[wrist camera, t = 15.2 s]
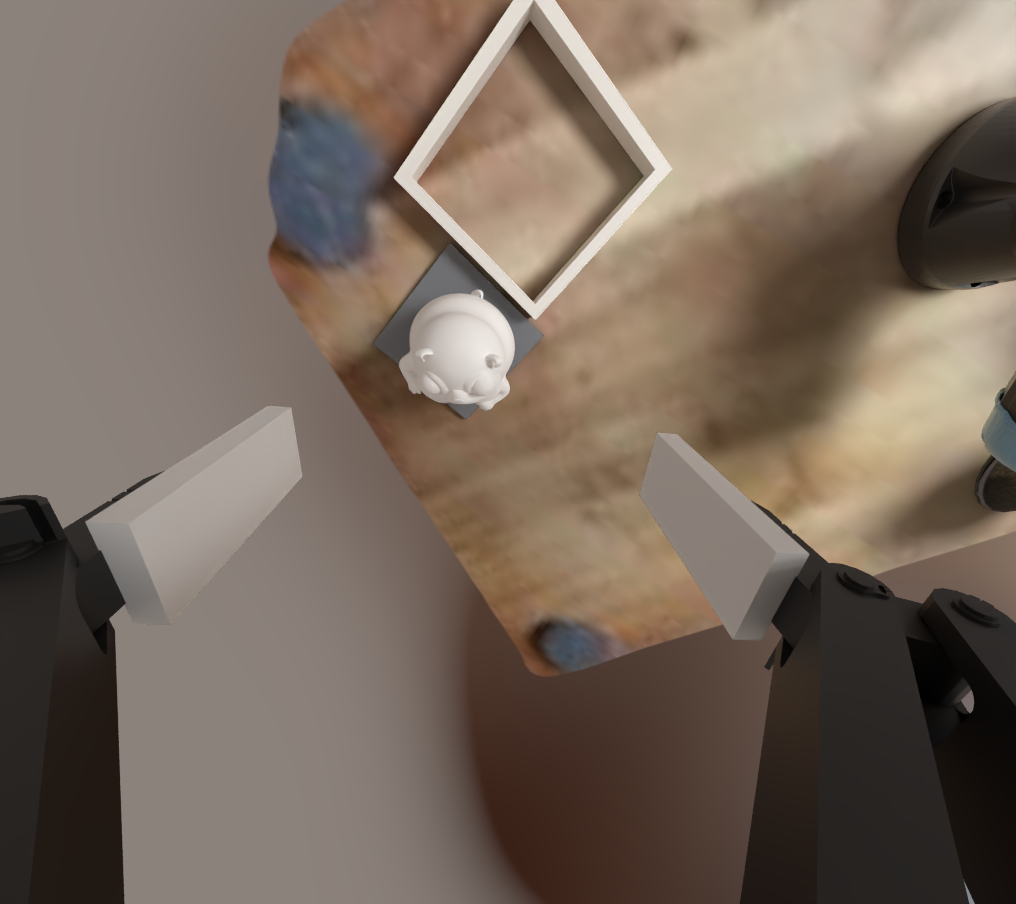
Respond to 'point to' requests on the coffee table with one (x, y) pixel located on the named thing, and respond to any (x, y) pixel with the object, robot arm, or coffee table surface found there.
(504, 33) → the bin frame
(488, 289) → the coaster pad
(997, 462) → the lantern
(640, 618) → the coffee table surface
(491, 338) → the figurine
